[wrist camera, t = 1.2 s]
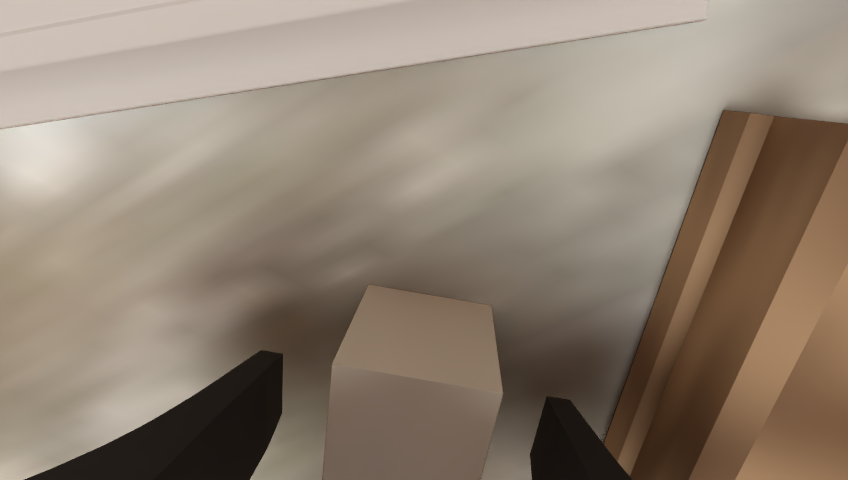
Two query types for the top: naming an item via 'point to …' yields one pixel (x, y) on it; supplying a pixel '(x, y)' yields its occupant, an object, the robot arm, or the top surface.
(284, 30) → the baseboard
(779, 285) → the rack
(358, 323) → the beige rectangular block
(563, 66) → the top surface
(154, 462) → the robot arm
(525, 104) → the top surface
